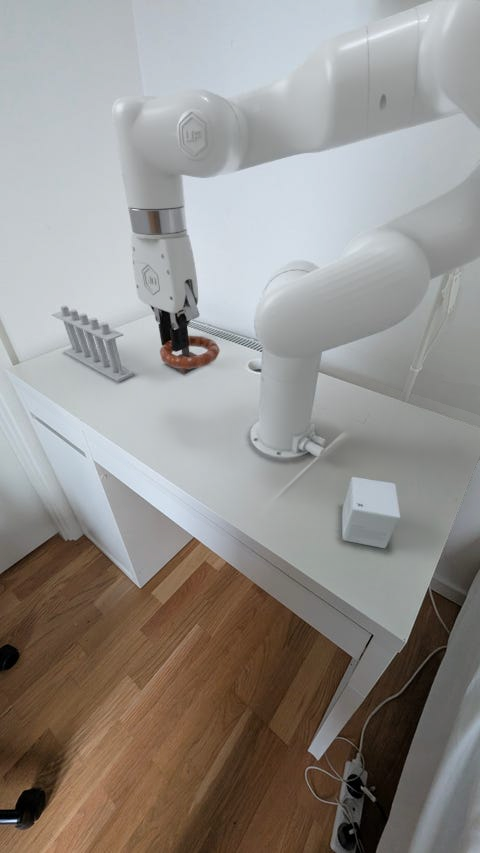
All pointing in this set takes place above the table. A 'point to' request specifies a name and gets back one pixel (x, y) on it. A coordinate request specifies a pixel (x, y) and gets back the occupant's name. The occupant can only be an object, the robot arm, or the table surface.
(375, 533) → the product box
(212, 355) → the ring
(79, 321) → the test tube rack
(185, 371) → the rack post
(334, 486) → the table surface
